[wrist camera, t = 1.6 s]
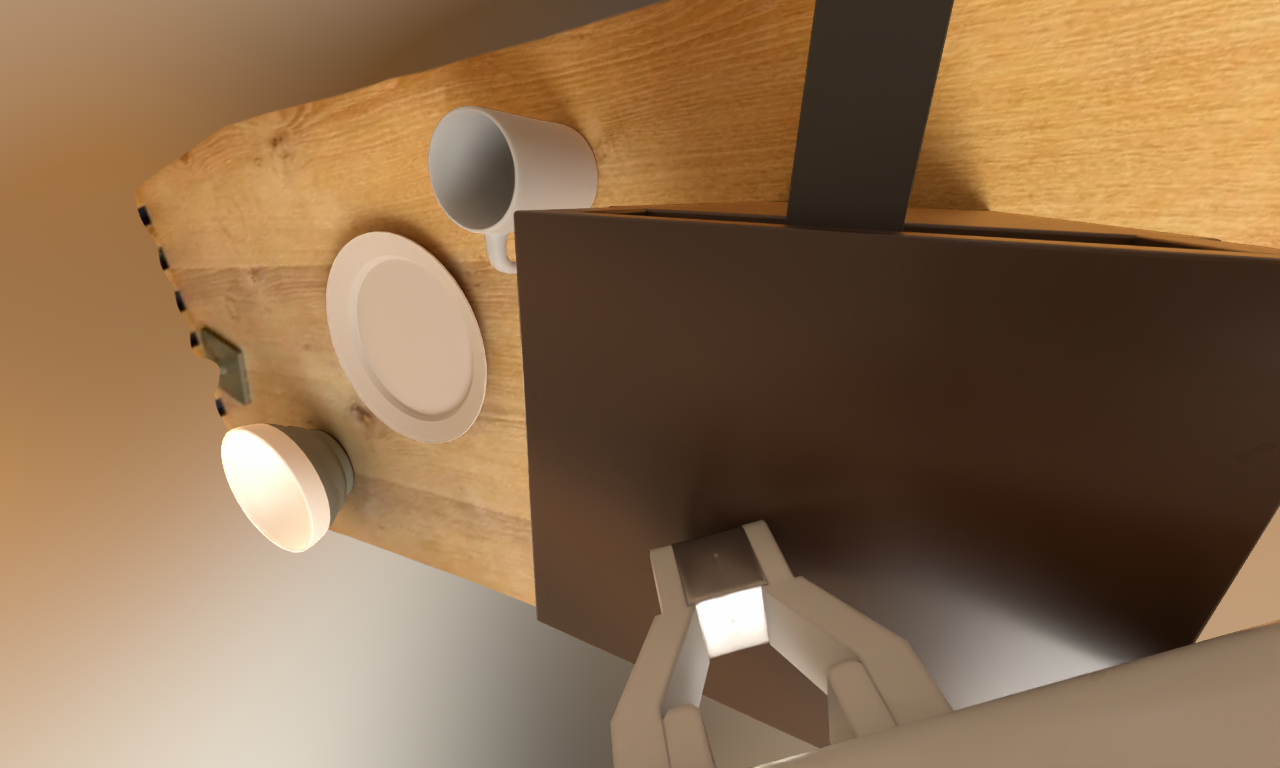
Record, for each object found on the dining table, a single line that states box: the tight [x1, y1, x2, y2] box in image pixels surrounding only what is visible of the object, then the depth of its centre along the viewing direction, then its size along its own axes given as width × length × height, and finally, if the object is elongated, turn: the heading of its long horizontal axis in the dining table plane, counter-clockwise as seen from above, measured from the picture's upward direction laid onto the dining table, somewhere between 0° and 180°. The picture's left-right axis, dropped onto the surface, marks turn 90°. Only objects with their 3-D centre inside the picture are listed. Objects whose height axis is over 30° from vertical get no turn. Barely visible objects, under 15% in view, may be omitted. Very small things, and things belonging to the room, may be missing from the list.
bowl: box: [221, 423, 354, 552], centre depth 72 cm, size 20×20×10 cm
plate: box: [326, 231, 487, 444], centre depth 58 cm, size 26×26×2 cm
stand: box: [513, 201, 1280, 748], centre depth 23 cm, size 12×14×31 cm
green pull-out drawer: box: [785, 0, 954, 232], centre depth 11 cm, size 22×10×2 cm, turn 178°
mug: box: [428, 106, 598, 274], centre depth 40 cm, size 12×8×11 cm
